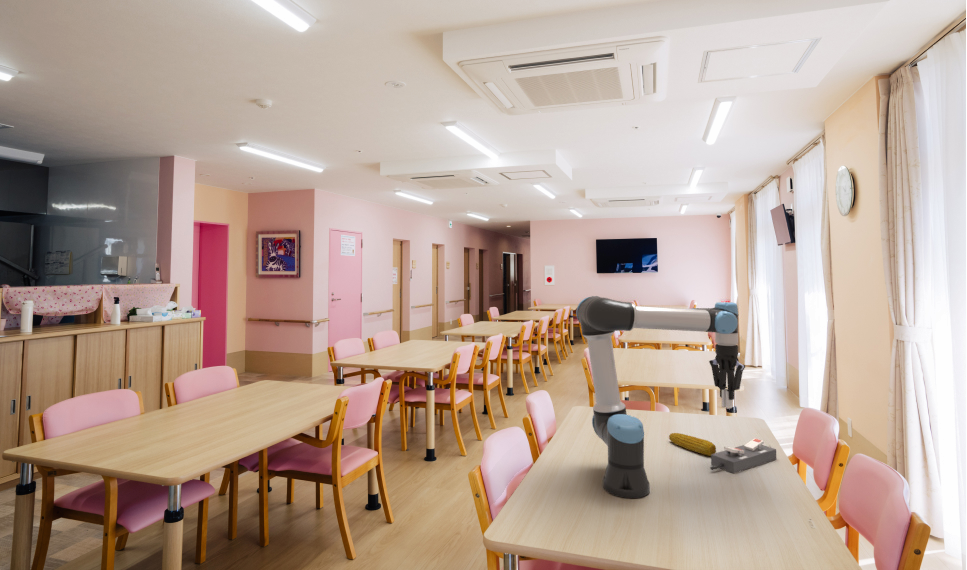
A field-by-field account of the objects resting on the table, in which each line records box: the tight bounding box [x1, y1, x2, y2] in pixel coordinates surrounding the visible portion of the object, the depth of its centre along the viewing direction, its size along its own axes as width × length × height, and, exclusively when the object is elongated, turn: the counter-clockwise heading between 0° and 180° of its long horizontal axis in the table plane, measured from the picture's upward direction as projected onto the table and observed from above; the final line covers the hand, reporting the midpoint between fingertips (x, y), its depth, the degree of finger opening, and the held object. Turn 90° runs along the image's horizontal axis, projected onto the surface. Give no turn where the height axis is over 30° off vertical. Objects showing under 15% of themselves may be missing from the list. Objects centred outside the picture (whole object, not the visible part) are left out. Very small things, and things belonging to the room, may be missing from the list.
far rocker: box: [743, 438, 764, 451], centre depth 182 cm, size 7×4×1 cm, turn 118°
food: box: [668, 432, 717, 457], centre depth 194 cm, size 21×6×6 cm, turn 30°
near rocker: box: [723, 446, 744, 454], centre depth 177 cm, size 7×4×1 cm, turn 118°
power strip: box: [709, 443, 777, 474], centre depth 178 cm, size 32×9×5 cm, turn 118°
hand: (727, 407), depth 175 cm, fingers closed
